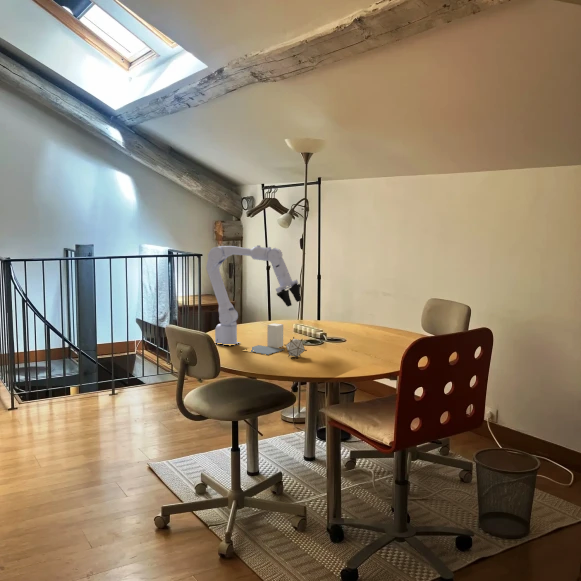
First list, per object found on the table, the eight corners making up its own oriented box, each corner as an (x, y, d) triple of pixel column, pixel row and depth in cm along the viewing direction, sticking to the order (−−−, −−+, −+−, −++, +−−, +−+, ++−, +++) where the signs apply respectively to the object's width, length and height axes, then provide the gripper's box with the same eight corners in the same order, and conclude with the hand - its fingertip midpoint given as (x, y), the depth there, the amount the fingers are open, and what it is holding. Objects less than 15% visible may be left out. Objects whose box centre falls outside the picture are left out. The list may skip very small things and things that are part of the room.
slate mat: (241, 350, 263) (241, 350, 263) (258, 346, 273) (258, 345, 273) (267, 355, 255) (267, 354, 255) (284, 350, 265) (284, 349, 265)
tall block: (267, 347, 271) (267, 324, 270) (274, 345, 275) (274, 323, 274) (276, 348, 268) (276, 326, 267) (283, 346, 272) (283, 324, 271)
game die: (293, 367, 251) (283, 350, 246) (288, 355, 258) (278, 338, 253) (312, 356, 251) (302, 339, 246) (307, 345, 258) (297, 328, 253)
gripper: (280, 275, 259) (292, 305, 260) (298, 268, 271) (310, 296, 271) (267, 280, 263) (279, 310, 264) (286, 272, 275) (297, 301, 275)
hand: (294, 303), depth 268 cm, fingers open, 7 cm apart
